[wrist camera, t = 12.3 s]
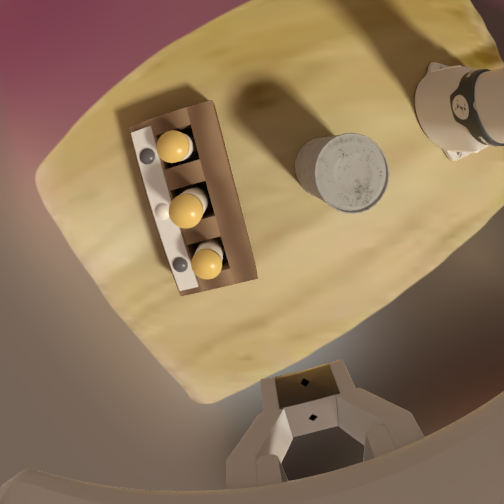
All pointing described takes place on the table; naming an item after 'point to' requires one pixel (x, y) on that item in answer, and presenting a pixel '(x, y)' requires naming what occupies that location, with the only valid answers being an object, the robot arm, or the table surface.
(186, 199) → the middle button
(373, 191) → the grey concrete cylinder
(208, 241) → the button
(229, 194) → the button board
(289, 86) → the table surface
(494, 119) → the robot arm
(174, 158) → the button
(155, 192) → the strip
